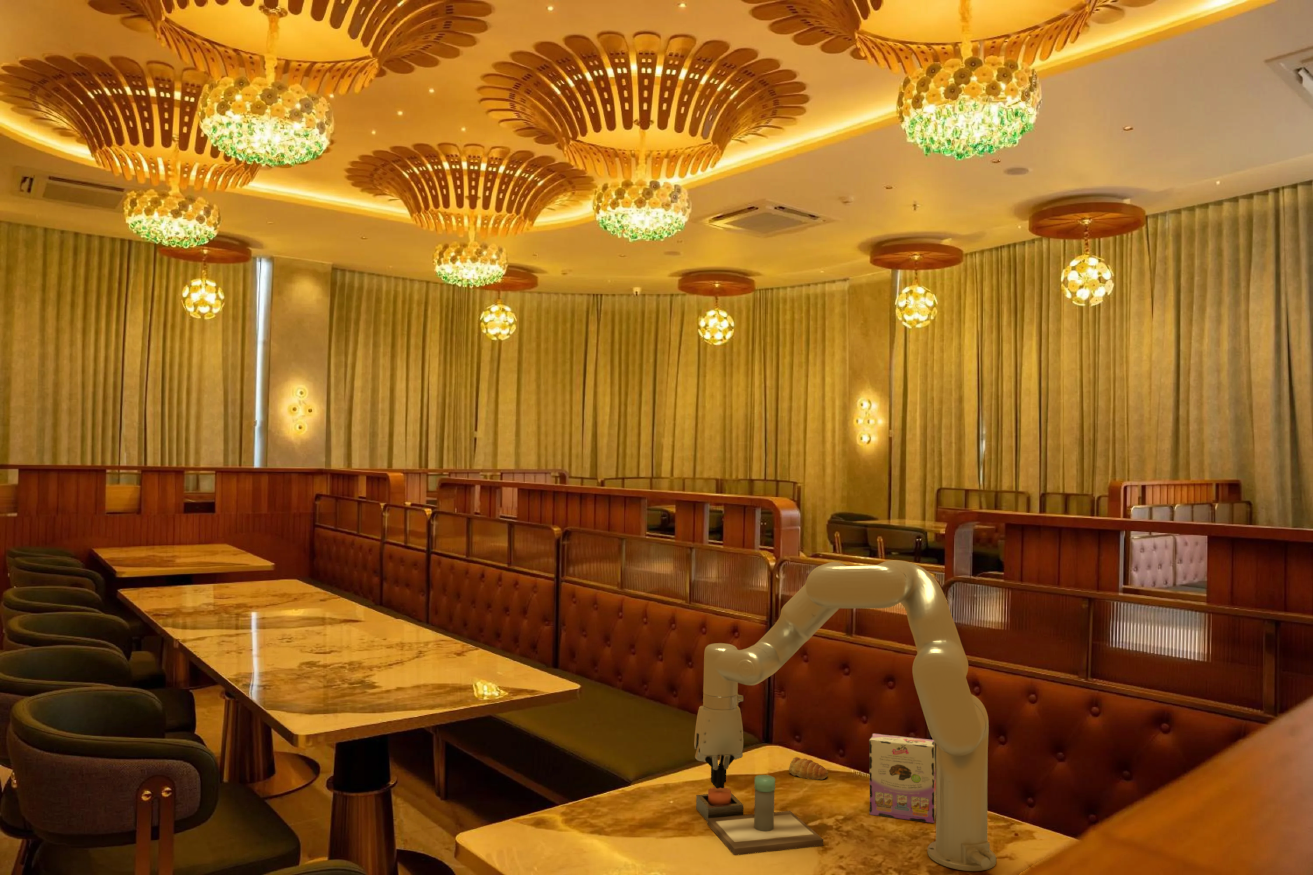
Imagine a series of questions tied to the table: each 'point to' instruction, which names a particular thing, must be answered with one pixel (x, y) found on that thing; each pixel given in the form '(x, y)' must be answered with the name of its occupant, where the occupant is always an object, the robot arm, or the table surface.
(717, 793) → the button
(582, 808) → the table surface
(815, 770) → the pastry
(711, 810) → the button housing
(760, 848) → the board
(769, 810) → the cylinder
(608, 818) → the table surface
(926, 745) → the candy box
